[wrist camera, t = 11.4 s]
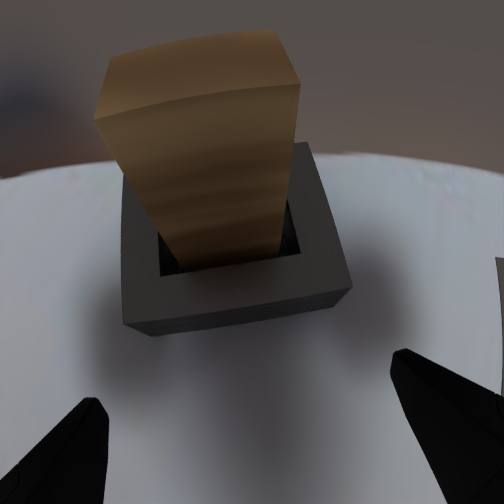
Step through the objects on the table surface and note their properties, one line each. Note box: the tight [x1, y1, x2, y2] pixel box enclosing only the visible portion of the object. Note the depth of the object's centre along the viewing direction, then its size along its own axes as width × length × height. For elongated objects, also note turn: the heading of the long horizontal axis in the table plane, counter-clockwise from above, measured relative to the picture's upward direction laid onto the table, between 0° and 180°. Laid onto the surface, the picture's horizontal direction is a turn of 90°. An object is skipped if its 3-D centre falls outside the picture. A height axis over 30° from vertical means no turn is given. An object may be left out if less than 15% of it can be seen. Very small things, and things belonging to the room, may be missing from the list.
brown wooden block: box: [94, 29, 301, 273], centre depth 13 cm, size 3×5×13 cm, turn 99°
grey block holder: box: [121, 142, 353, 336], centre depth 17 cm, size 9×11×4 cm
